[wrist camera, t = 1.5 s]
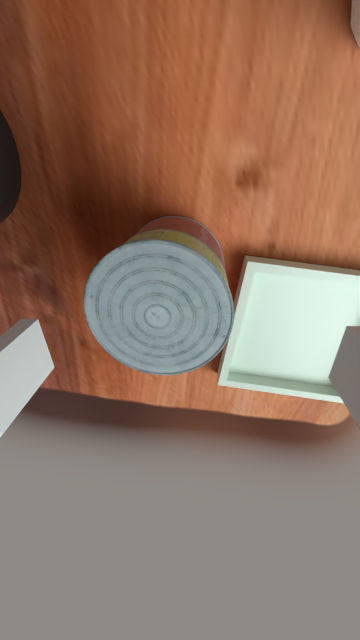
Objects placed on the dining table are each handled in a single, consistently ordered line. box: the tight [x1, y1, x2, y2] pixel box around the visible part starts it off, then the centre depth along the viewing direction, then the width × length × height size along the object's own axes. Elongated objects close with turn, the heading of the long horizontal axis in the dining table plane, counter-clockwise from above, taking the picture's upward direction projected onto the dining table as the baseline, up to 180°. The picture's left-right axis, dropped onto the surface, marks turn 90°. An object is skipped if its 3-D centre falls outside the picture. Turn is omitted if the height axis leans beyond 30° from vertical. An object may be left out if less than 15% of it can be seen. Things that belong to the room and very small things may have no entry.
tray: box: [217, 255, 360, 403], centre depth 31 cm, size 17×17×2 cm
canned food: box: [83, 216, 234, 375], centre depth 24 cm, size 11×11×12 cm
